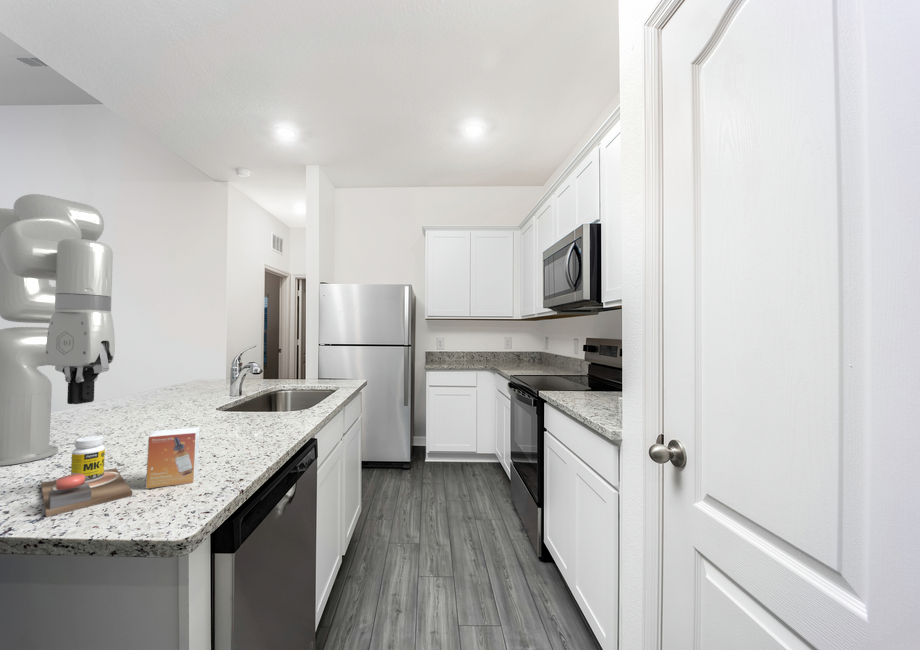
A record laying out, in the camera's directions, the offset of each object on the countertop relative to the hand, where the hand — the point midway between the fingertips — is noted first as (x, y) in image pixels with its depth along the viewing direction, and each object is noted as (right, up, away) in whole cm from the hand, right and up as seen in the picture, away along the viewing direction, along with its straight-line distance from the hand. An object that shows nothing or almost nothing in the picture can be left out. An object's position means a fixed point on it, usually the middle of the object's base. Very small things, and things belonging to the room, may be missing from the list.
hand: (80, 402), depth 70 cm
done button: (+1, -14, -3) cm, 15 cm away
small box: (+11, -18, +8) cm, 23 cm away
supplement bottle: (-4, -17, +5) cm, 18 cm away
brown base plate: (-2, -18, +3) cm, 18 cm away
